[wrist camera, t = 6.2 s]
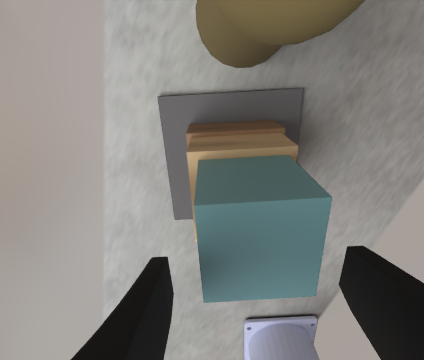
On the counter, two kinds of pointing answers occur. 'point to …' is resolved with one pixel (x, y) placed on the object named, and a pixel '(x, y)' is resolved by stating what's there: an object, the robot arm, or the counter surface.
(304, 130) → the counter surface
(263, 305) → the counter surface
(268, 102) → the coaster mat
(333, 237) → the counter surface
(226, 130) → the walnut base block
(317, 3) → the cork
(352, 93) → the counter surface
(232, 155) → the oak top block
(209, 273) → the teal block
